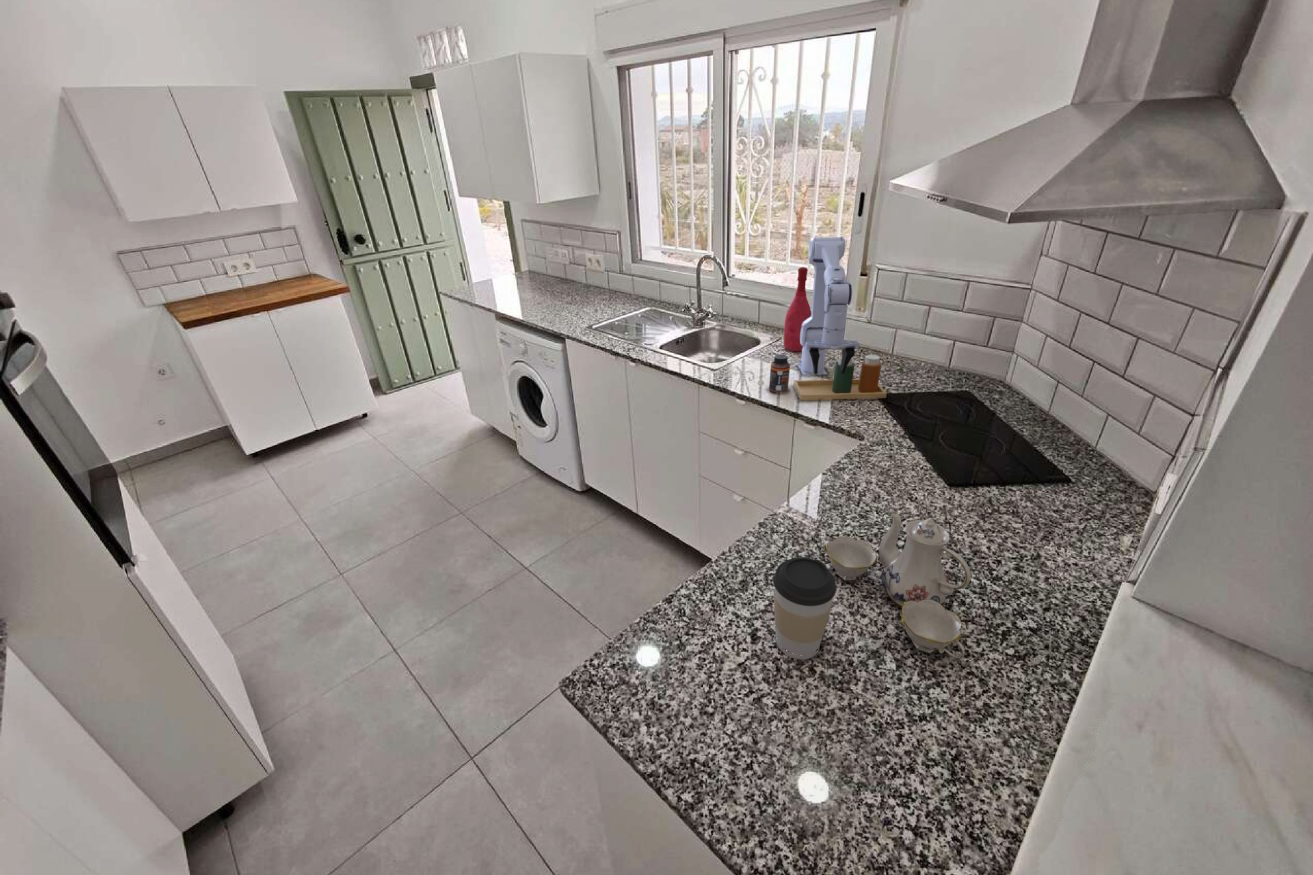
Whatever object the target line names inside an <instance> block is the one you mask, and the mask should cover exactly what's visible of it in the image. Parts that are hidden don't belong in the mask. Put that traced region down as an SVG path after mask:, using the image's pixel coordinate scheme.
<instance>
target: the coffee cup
mask: <svg viewBox="0 0 1313 875" xmlns="http://www.w3.org/2000/svg"><path fill="white" fill-rule="evenodd" d="M772 581H773V586H774V589H773V613H774V614H773V615H774V625H775V626H774V627H775V644H776V646H777V647H778V649H779V650H780V651H781V652H782V653H783V654H784V655H786V656H788V657H790V658H791V659H794V660H804V661H805V660H809V659H812V658H813V657H815V656H816V655H817V654H818V653H819V650H820V646H821V643H822V639H823V636H824V634H825V632H826V629H827V623H828V621H829V617H830V613H831V610H832V606H833V602H834V601H833V600H834V599H833V598H834V597H835V595H836V593H837V584H836V583H837V582H836V579H835V576H834V575H833V573H832V572H831V571H830V570H829V569H828V567H827V565H826V564H825V563H824V562H823V561H821V560H819V559H815V558H814V559H813V558H810V557H805V556H797V557H796V556H795V557H791V558H790V559H786V560H785V561H783V562H781V563H780V564H779V565H778V566H777V567H776V569H775V572H774V575H773V577H772ZM776 638H777V639H776ZM778 642H779V643H778ZM780 645H781V646H782V647H783V648H784V649H783V648H782V647H781V646H780ZM785 649H786V650H787V651H786V650H785ZM817 649H818V650H817ZM816 650H817V651H816ZM788 651H789V652H788ZM815 651H816V652H815ZM790 652H791V653H790ZM792 653H794V654H792ZM812 653H813V654H812ZM795 654H798V655H795ZM809 654H810V655H809ZM800 655H805V656H800Z"/></svg>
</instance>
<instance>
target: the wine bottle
mask: <svg viewBox="0 0 1313 875" xmlns="http://www.w3.org/2000/svg"><path fill="white" fill-rule="evenodd" d="M807 280H808V268H807V267H806V266H801V267H798V269H797V287H796V291H795V294H794V297H793V299H792V301H791V302H790V304H789V307H788V309H787V311H786V314H785V320H784V329H783V347H784V348H785V349H786V350H787V351H791V352H802V349H803V346H802V345H801V343H800V332H801V327H802V324H803V322H804V321H805V320H807V319H808V318H809V317H811V311H812V308H811V306H810V303H809V300H808V297H807V290H806V286H807V285H806V282H807Z"/></svg>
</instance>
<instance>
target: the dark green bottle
mask: <svg viewBox="0 0 1313 875" xmlns="http://www.w3.org/2000/svg"><path fill="white" fill-rule="evenodd" d="M853 357H854V356H853ZM853 357H852V359H851V360H850V362H849V363H848V365H847V367H846V369H845V372H844V374H842V373H841V372H840V366H841V361H842V355H840V356H839V357H838V361H836V362H835V364H834V372H833V379H832V380H833V387H832V391H833V392H834V393H851V387H852V380H853V379H854V373H855V366H856V363H855V362H853V360H854V359H853Z"/></svg>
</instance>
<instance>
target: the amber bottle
mask: <svg viewBox="0 0 1313 875" xmlns="http://www.w3.org/2000/svg"><path fill="white" fill-rule="evenodd" d="M880 359H881V357H880V356H879V355H878V354H877V355H876V354H867V355H865V358H864V360H863V361H862V362H861V367H860V373H859V378H858V379H859V386H858V391H860V392H861V393H876V392H877V389H878V383H879V384H880V382H879V381H880V377H881V372H882V371H881V370H882V362H880Z"/></svg>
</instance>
